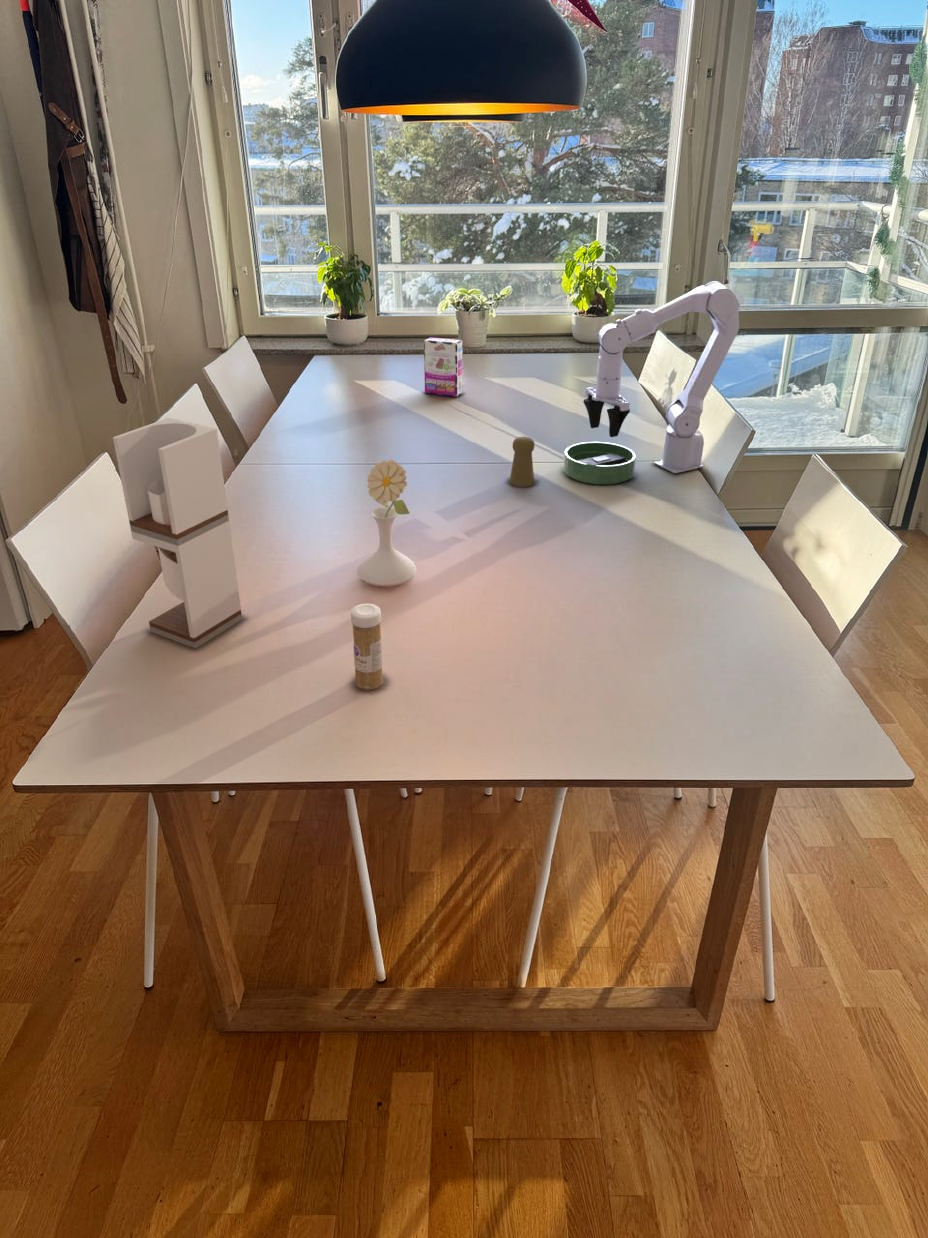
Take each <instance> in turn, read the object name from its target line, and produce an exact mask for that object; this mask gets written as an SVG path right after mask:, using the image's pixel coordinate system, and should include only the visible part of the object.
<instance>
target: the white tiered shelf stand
mask: <svg viewBox="0 0 928 1238" xmlns="http://www.w3.org/2000/svg"><path fill="white" fill-rule="evenodd" d="M112 440H113V444H114V451H115V456H116V462H117V466H118V471H119V476H120V481H121V486H122V492H123V497H124V502H125V507H126V512H127V518H128V522H129V528H130V532H131V537H132V540H135V541H138V542H141V543H144V544H148V545H151V546H153V547H156V548H157V549H158V555H159V560H160V565H161V571H162V578H163V583H164V585H165V587H166V588H167V590H168V591H169V592H170V593H171V594H172V595H173V596H175V597H176V598H177V599H179V600H180V601H182V602H181V603H179V604H177V605H175V606H174V607H171V608H170V609H168V610H166V611H165V612H163V613H161V614H160V615H158V616H156V617H154V618H152V619H151V620H149V621H148V624H149V629H150V632H151V633H152V634H156V635H159V636H160V637H164V638H167V639H169V640H172V641H175V642H177V643H180V644H182V645H184V646H188V647H190V648H192V649H198V648H199V647H201V646H203V645H204V644H205V643H207V642H209V641H210V640H212V639H213V638H215V637H217V636H218V635H220V634H222V633H223V632H225V631H226V630H228V629H229V628H231V627H232V626H234V625H236V624H237V623H239V622H240V621H242V620H243V615H242V607H241V599H240V592H239V591H240V590H239V583H238V577H237V568H236V562H235V554H234V547H233V540H232V533H231V524H230V517H229V509H228V502H227V495H226V486H225V479H224V471H223V466H222V457H221V450H220V449H221V448H220V443H219V434H218V428H214V427H210V426H206V425H202V424H198V423H192V422H188V421H185V420H180V419H176V418H171V417H166V418H163V419H161V420H157V421H155V422H153V423H149V424H147V425H144V426H141V427H138V428H135V429H133V430H130V431H127V432H123V433H122V434H121V433H120V434H119V435H116V436H113V437H112Z"/></svg>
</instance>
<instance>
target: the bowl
mask: <svg viewBox="0 0 928 1238" xmlns="http://www.w3.org/2000/svg"><path fill="white" fill-rule="evenodd" d="M611 453H615V454H617V455H619V456H621V457H623V458H625V462H624V463H623V464H618V465H607V466H602V465H591V464H586V463H582V462H578V461H577V460H582V459H587V458H591V457H596V456H601V455H606V454H611ZM563 455H564V456H563V473H564V474H565V475H566V476H568V477H569V478H571V479H573V480H575V481H578V482H581V483H584V484H585V483H586V484H588V485H599V486H603V485H604V486H605V485H606V486H608V485H615V484H620V483H624V482H626V481H628V480H630V479H632V478H633V476H634V474H635V469H636V468H635V467H636V460H637V459H636V458H637V455H636V453H635V452H634V451H633V450H632V449H631V448H628V447H626V446H624V445H620V444H617V443H612V442H603V441H586V442H579V443H575V444H572V445H570V446H568V447H566V449H565V450H564V454H563Z"/></svg>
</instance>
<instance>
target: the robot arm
mask: <svg viewBox="0 0 928 1238" xmlns="http://www.w3.org/2000/svg"><path fill="white" fill-rule="evenodd" d="M740 305H741V304H740V302H739V299H738V297H737V295H736V293H735V292H734V291H733V290H732V289H730V288H728V287H726V286H725V285H724V284H723V283H722V282H720V281H717V280H715V281H709V282H707V283H706V284H705V285H700V286H696V287H695V288H694V289H692V290H690V291H688V292H687V293H685V294H683V295H681V296H679V297H677V298H675V299H673V300H671V301H669V302H667V303H665V304H663V305H661V306H660V307H658V308H656V309H654V310H650V309H647V308H643V309H642V310H641V308H638V309H636V310H634V313H633V314H632V315H629V316H627V317H624V318H623V319H620V318H618V319H616V320H615V323H607V324H605V325H603V326H602V328H601V329H600V330H599V332H598V334H597V341H598V343H599V344H600V345H599V351H598V354H599V355H598V359H597V371H596V382H595V387H593V386H591V387H585V396H586V397H587V398H584V399H583V404H584V406H585V409H586V412H587V415H588V420H589V426H590V428H591V429H596V428H599V427H600V424H601V417H602V412H603V409H604V406H605V404H608V405H610V406H612V407H611V408H607V409H606V413H607V415H608V416H607V417H608V422H609V424H608V426H609V427H608V433H609V437H610V438H615V437H619V433H620V431H621V429H622V426H623V423H624V421H625V419H626V418H627V416H628V415H629V414H630V412H631V408H630V404H631V403H630V401H627V400H626V399H625V398H624V397H622V396H621V394H620V393H621V392H620V390H621V381H622V369H623V361H624V358H623V353H624V350H625V349H626V348H627V345H630V344H632V343H634V342H636V341H638V340H641V339H643V338H645V337H648V336H649V335H652V334H654V333H655V332H656V330H657V328H658V326H659V325H661V324H663V323H665V322H668V321H671V320H673V319H675V318H678V317H680V316H682V315H685V314H688V313H690V312H694V313H699V314H706V315H707V313H708V314H709V317H710V320H711V323H712V325H713V328H714V329H713V331H712V333H711V335H710V337H709V339H708V340H707V343H706V345H705V347H704V349H703V351H702V353H701V355H700V357H699V360H698V361H697V364H696V365H695V367H694V369H693V371H692V374H691V376H690V377H689V380H688V382H687V384H686V386H685V387H684V390H683V391H681V392H680V393H679V394H678V395H677V397H676V399H675V400H674V401H673V402H672V403H670V404H669V406H668V407H667V409H666V413H665V417H666V420H667V421H668V423H669V424H668V426H667V427H666V430H665V436H664V444H663V451H662V458H661V460H658V461H655V462H654V465H655V466H658V467H660V468H662V469H664V470H666V471H668V472H670V473H672V474H679V473H683V472H689V471H692V470H693V471H694V470H697V469H701V468H703V467H704V465H703V464H702V461H703V460H702V459H703V452H704V447H705V440H704V439H705V438H704V435H703V433H702V432H701V431H700V430H698V429H699V427H700V424H701V423H700V421H701V420H700V419H701V415H702V413H703V411H704V401H705V398H706V396H707V395H708V392H709V390H710V389H711V387H712V385H713V382H714V380H715V378H716V377H717V374H718V372H719V371H720V369H721V367H722V364H723V363H724V360H725V359H726V356H727V355H728V352H729V351H730V348H731V346H732V345H733V343H734V341H735V339H736V337H737V335H738V333H739V330H740V315H739V314H740V313H739V311H740V310H739V309H740ZM585 396H584V397H585Z"/></svg>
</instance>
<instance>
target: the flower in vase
mask: <svg viewBox="0 0 928 1238" xmlns="http://www.w3.org/2000/svg"><path fill="white" fill-rule="evenodd" d="M406 473H407V471H406V470H405V469H404V467H403V466H401V464H398V463H397V461H394V460H393V459H390V460H387V461H386V460H382V461H381V462H376V463H375V465H374V467H372V468H371V469H370V473H369V474H368V475H367V479H366V482H367V483H368V484H367V489H368V494H369V497H371V498H372V499H373V500H374V501H376V502H377V503H378V504H380V505H382V506H384V507H377V508H375V509H373V510H372V511H371V512H370V515H371V516H372V517H373V519H374V521H375V522H376V524H377V529H378V535H379V544H378V548H377V549H376V550H375V551H373V552H372V553H371V554H369V555H368V556H367V557H365V558H364V559H363V560H362V561H361V562H360V563H359V565H358V567H357V570H356V573H357V576H358V577H359V579H360V580H361V581H362V582H364V583H366V584H368V585H371V586H375V587H382V588H383V587H387V588H388V587H396V586H401V585H403V584H406V583H408V582H410V581H412V580H413V578H414V577H415V575H416V574H417V567H416V565H415V563H414V561H413V560H411V559H410V558H409V557H408V556H406V555H405V554H403V553H401V551H398V550H397V549H395V548H394V545H393V542H392V531H393V525H394V524H393V523H394V521H395V519H396V518H397V516H398V515H409V514H410V511H409V509H408V507H407V505H406V503H405V501H404V500H403V499H400V496H401V494H403V493H404V490H405V488H406V487H407V485H408V482H407V481H406V480H407V475H406ZM389 502H391V504H390V506H389V504H388V503H389Z"/></svg>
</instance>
